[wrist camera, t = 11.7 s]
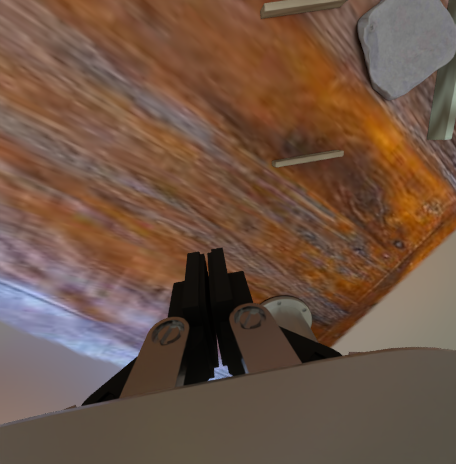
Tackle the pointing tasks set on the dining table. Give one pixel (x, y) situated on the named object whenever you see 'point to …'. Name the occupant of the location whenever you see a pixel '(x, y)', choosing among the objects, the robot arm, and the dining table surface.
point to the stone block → (405, 43)
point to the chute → (446, 89)
